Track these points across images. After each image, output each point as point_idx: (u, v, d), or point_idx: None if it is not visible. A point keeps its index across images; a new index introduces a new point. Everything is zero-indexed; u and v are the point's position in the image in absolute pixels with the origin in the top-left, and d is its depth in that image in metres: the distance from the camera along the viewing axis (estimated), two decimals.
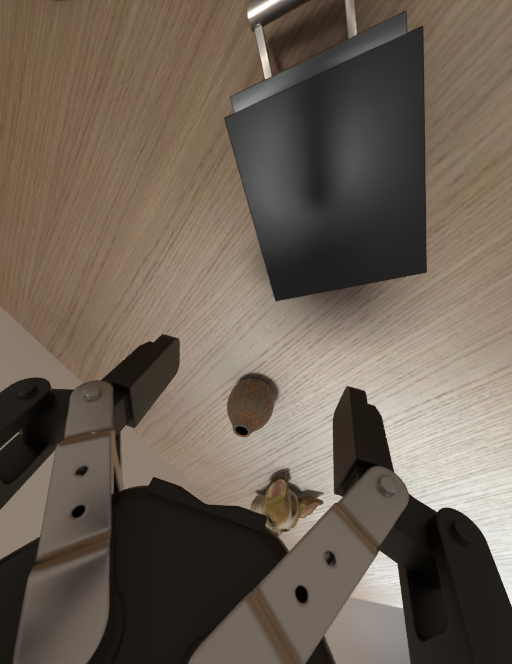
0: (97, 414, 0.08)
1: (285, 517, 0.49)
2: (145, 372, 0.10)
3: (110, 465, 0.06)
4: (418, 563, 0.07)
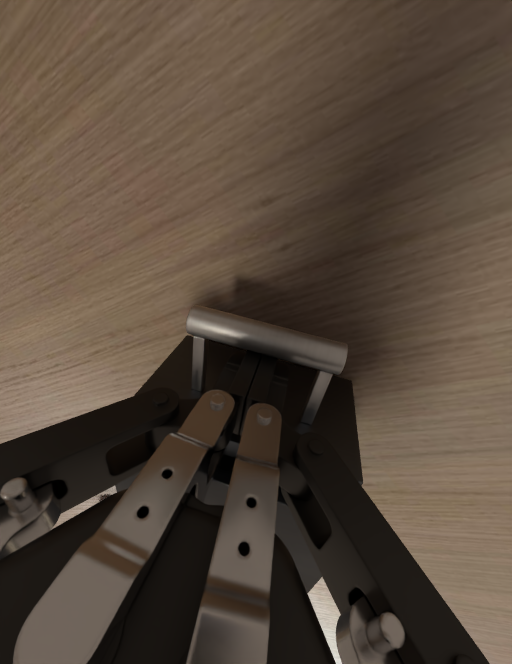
0: (210, 424, 0.08)
1: None
2: (251, 382, 0.11)
3: (187, 485, 0.06)
4: (285, 478, 0.09)
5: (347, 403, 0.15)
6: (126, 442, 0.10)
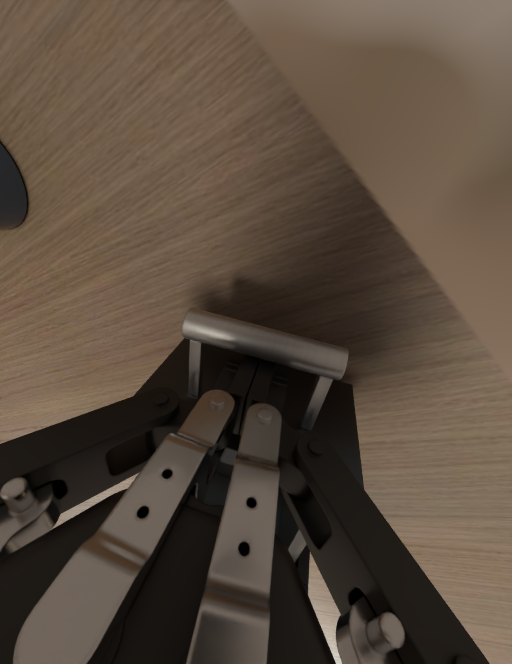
0: (210, 424, 0.08)
1: None
2: (251, 381, 0.11)
3: (187, 485, 0.06)
4: (285, 478, 0.09)
5: (347, 408, 0.15)
6: (126, 442, 0.10)
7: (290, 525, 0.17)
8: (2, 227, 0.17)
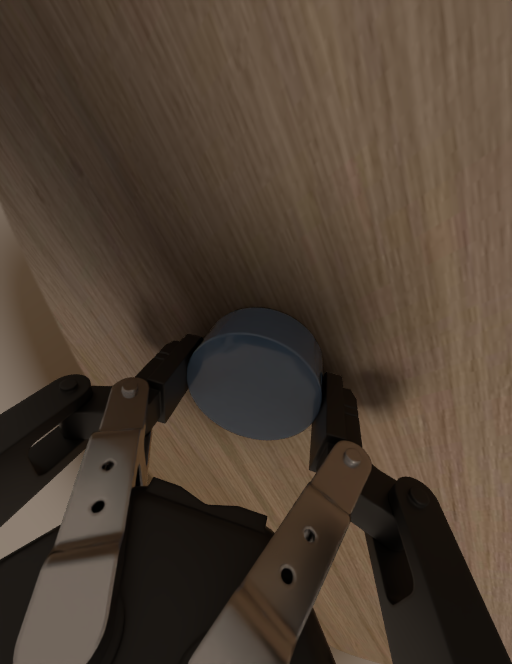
0: (131, 410, 0.08)
1: None
2: (176, 370, 0.10)
3: (134, 465, 0.07)
4: (379, 527, 0.08)
5: None
6: (40, 445, 0.09)
7: None
8: (318, 360, 0.11)
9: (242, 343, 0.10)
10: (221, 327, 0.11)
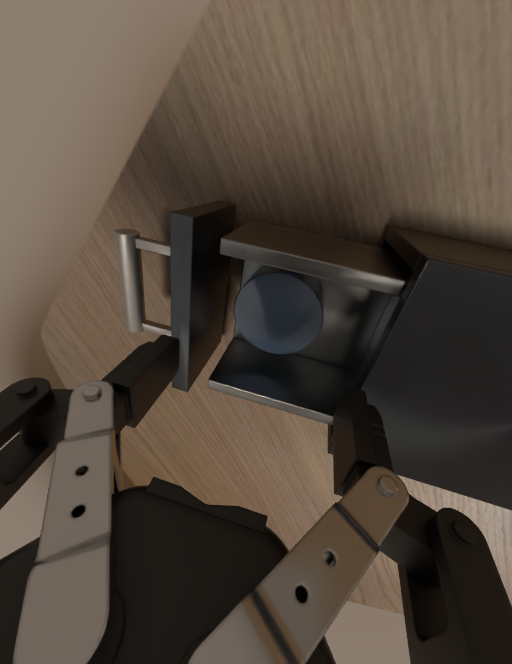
0: (97, 414, 0.08)
1: None
2: (145, 372, 0.10)
3: (110, 465, 0.06)
4: (418, 563, 0.07)
5: None
6: (0, 456, 0.08)
7: None
8: (321, 294, 0.17)
9: (274, 280, 0.16)
10: (259, 272, 0.17)
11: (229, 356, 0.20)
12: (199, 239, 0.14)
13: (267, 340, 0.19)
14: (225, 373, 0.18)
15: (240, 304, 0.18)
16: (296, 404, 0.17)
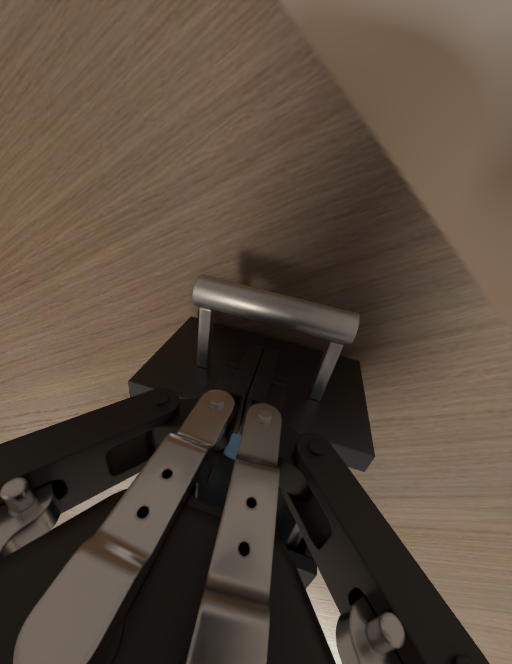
0: (210, 424, 0.08)
1: None
2: (251, 381, 0.11)
3: (187, 485, 0.06)
4: (285, 478, 0.09)
5: (355, 382, 0.15)
6: (126, 442, 0.10)
7: None
8: None
9: None
10: None
11: None
12: None
13: None
14: None
15: None
16: None
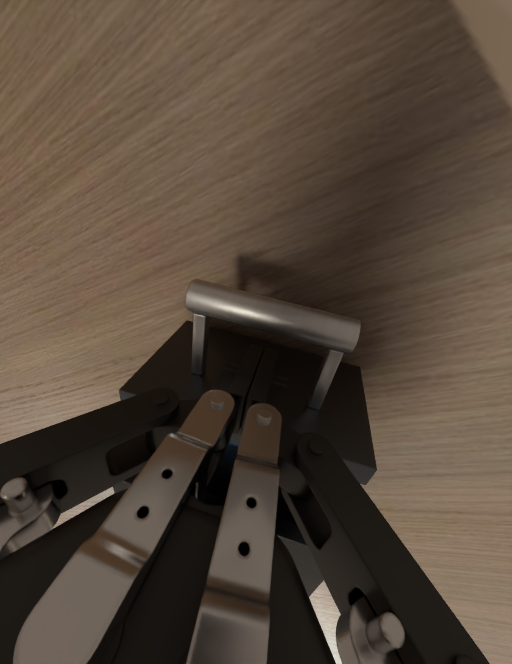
0: (210, 424, 0.08)
1: None
2: (251, 382, 0.11)
3: (187, 485, 0.06)
4: (285, 478, 0.09)
5: (356, 389, 0.14)
6: (126, 442, 0.10)
7: None
8: None
9: None
10: None
11: None
12: None
13: None
14: None
15: None
16: None
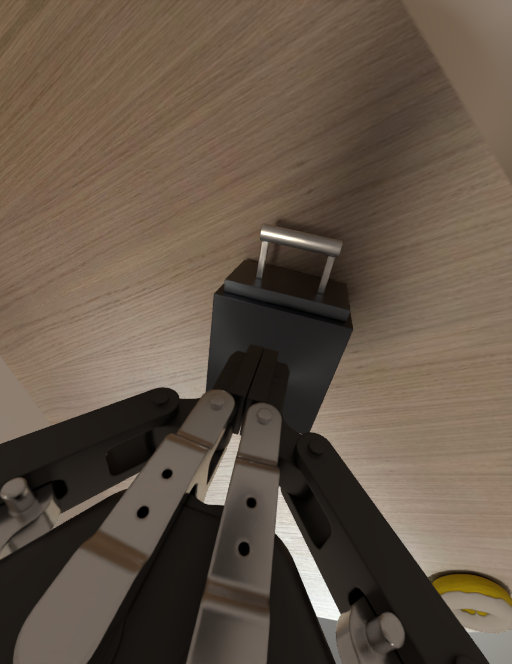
0: (210, 424, 0.08)
1: None
2: (251, 382, 0.11)
3: (187, 485, 0.06)
4: (285, 478, 0.09)
5: (343, 290, 0.27)
6: (126, 442, 0.10)
7: None
8: None
9: None
10: None
11: None
12: None
13: None
14: None
15: None
16: None
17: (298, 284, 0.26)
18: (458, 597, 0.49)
